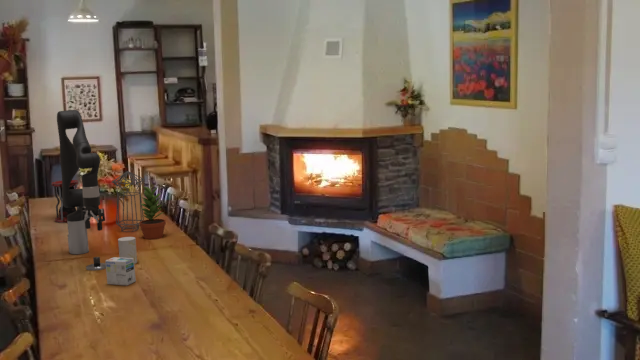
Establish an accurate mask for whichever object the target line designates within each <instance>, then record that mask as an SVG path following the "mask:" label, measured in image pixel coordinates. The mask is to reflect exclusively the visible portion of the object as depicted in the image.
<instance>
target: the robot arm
mask: <svg viewBox="0 0 640 360" xmlns="http://www.w3.org/2000/svg"><path fill="white" fill-rule="evenodd" d="M56 124H57V132H58V139H59V141H58V142H59V160H60V172H61V181H62V202H63V205H64V207H65V208H71V207H75V208H76V211H75V212H73V213H71V214H69V215H67V223H66V224H67V230H68V234H67V244H68V252H69V253H70V254H71V255H83V254H87V253H89V250H90V249H89V238H88V236H89V235H88V230H89V229H91V228H92V227H91V218H93V219H94V220H95V221H96V227H97V228H96V229H97V231H98V232H99V231H103V222H105V221H106V216H105V214H106V213H105V209H104V208H100V207H99V206H100V205H101V198H100V197H101V195H100V188H99V180H98V176H99V170H100V165H101V157H100V155H99V154H98V153H96V152H92V147H91V145H90V142H89V140H88V138H87V134H86V130H85V126H84V122H83V117H82V115H81V113H80V112H79V110H78V109H69V110H67V109H66V110H60V111H57V113H56ZM74 129H76V132H75V134H74V135H73V137H72V141H71V140H70V139H69V137H68V135H67V130H74ZM79 169H81V170H87V169H91V170H90V171H89V172H87V173H85V174H82V175H81V184H82V188H77V189H75V188H74V189H70V190H69V186H70V183H71V181H72V180H74V177H75V176H76V174H77V173H78V171H79ZM77 207H78V209H77Z"/></svg>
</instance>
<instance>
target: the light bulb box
mask: <svg viewBox="0 0 640 360" xmlns="http://www.w3.org/2000/svg"><path fill="white" fill-rule="evenodd" d="M104 263H106V269H105V273H106V283H107V285H115V286H116V285H117V286H118V285H119V286H129V285H131V284H133V283H135V282H136V281H137V280H136V269H135V264H134V258H119V256H118V257H116V256H114V257H111V258H109V259H108V258H107V259H106V260H105V262H104Z"/></svg>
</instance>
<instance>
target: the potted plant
mask: <svg viewBox="0 0 640 360" xmlns="http://www.w3.org/2000/svg"><path fill="white" fill-rule="evenodd" d="M142 188H143V189H144V192H143V194H144V196H145V197H142V196H141V199H143V200H142V201H143V202H144V203H142V204H141V205H142V208H141V211H142V210H143V217H145V218H146V219H145V220H143V219H142V220H143V221H141V222H140V221H138V223H139V228H140V230H141V233H142V235H143V238H144V239H145V240H157V238H158V239H162V238H163V236H164V233H165V232H164V231H165V226H166V225H167V224H166V223H167V221H166V219H164V218H163V219H161V218H157V217H158V216H161V215H162V214H163V213H165V211H164V212H163V211H162V212H160V213H159V211H161V210H162V208H161V207H162V206H163V204H159V200H160V199H161V197H160V195H161V193H157V194H156V195H154V194H155V192H156V191H157V189H158V188H159V186H157V187H155V188H154V189H153V190H151V189H150V187H148V186H142ZM143 207H144V208H143ZM157 213H158V214H157ZM156 214H157V215H156Z"/></svg>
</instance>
